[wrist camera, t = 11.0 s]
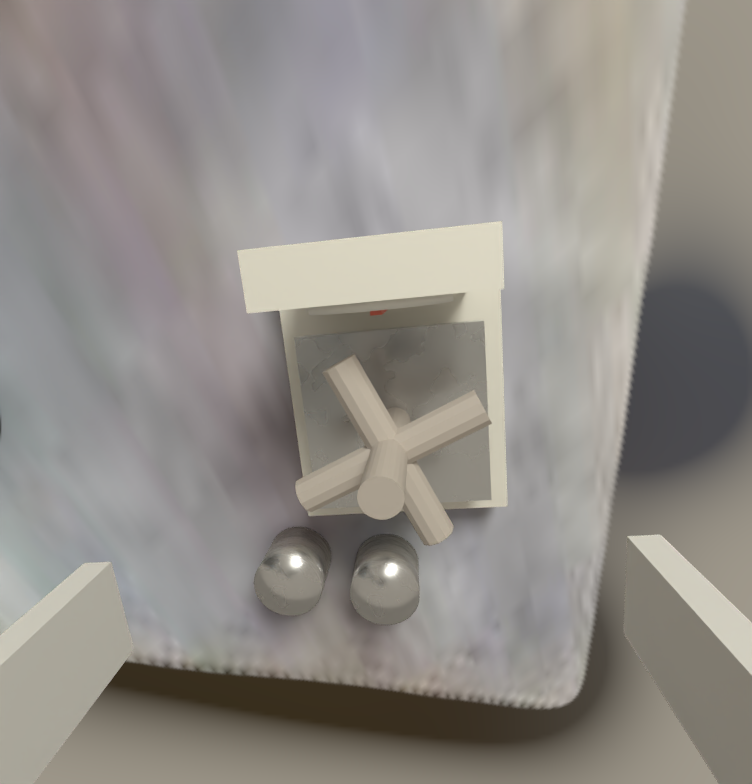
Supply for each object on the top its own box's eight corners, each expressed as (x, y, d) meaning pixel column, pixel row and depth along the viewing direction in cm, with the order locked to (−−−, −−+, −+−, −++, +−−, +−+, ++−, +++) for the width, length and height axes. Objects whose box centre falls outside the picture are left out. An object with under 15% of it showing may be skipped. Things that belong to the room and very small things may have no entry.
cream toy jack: (509, 454, 26) (560, 552, 17) (365, 522, 28) (336, 644, 18) (429, 306, 25) (434, 317, 15) (283, 389, 27) (205, 445, 17)
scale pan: (320, 501, 29) (317, 508, 28) (298, 336, 27) (294, 337, 26) (488, 492, 28) (491, 500, 27) (481, 319, 26) (484, 320, 25)
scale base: (317, 497, 34) (256, 632, 21) (284, 259, 31) (183, 234, 17) (498, 487, 33) (560, 625, 20) (489, 236, 29) (558, 191, 16)
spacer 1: (275, 582, 37) (259, 616, 33) (266, 527, 36) (249, 556, 32) (334, 579, 36) (325, 614, 32) (327, 525, 35) (316, 554, 31)
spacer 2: (359, 589, 36) (353, 625, 32) (353, 535, 35) (346, 565, 31) (420, 587, 36) (421, 624, 32) (416, 532, 35) (416, 562, 31)
